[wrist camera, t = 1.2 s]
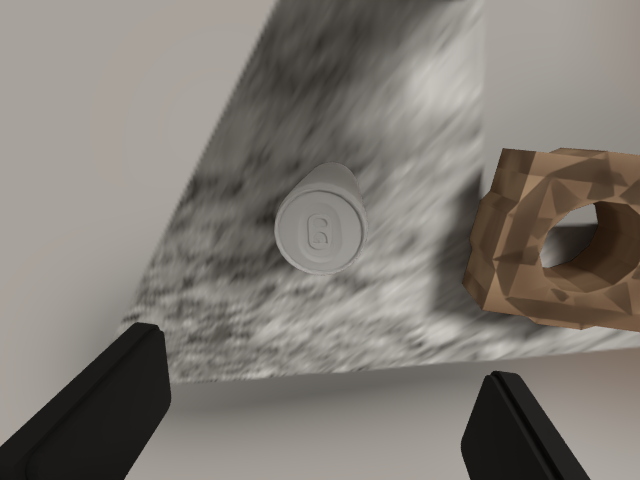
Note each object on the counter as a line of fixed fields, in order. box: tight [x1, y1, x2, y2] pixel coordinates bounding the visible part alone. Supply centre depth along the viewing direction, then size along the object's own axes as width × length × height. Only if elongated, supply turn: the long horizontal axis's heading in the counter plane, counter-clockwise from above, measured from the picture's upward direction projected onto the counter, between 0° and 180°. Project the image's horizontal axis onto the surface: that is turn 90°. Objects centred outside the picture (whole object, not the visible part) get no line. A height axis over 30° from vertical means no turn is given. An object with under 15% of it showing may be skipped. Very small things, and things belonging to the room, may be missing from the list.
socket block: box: [462, 148, 640, 332], centre depth 24 cm, size 13×13×4 cm
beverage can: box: [274, 162, 368, 275], centre depth 21 cm, size 5×5×12 cm
